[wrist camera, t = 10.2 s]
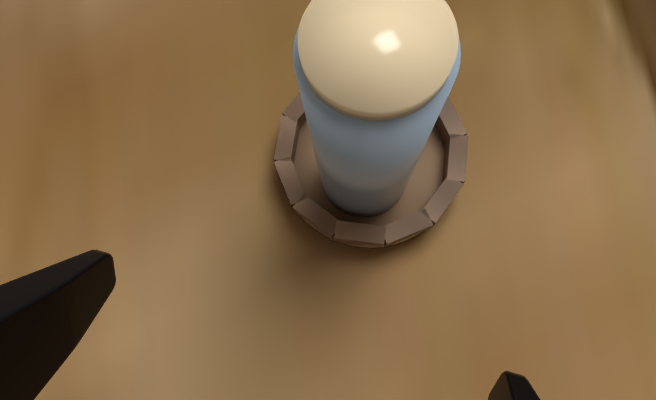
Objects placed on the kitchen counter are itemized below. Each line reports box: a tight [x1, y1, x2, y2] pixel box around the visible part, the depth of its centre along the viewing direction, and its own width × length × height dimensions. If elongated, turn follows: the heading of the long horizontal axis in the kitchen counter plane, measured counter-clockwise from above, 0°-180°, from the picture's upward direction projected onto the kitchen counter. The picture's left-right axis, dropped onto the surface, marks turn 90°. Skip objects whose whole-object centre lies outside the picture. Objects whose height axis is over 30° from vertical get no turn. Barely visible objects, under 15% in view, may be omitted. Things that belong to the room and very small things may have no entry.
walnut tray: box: [274, 93, 468, 248], centre depth 24 cm, size 10×10×2 cm
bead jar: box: [293, 0, 461, 218], centre depth 18 cm, size 5×5×13 cm
